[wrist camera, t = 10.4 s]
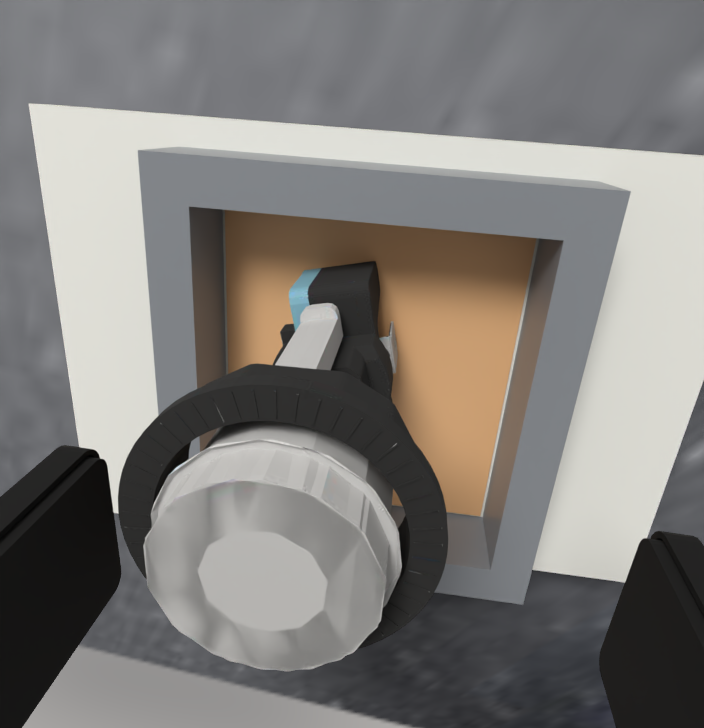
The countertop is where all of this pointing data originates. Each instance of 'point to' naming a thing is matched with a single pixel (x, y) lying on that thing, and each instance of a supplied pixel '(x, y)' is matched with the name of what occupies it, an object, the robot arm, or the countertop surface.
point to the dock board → (401, 306)
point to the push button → (291, 493)
